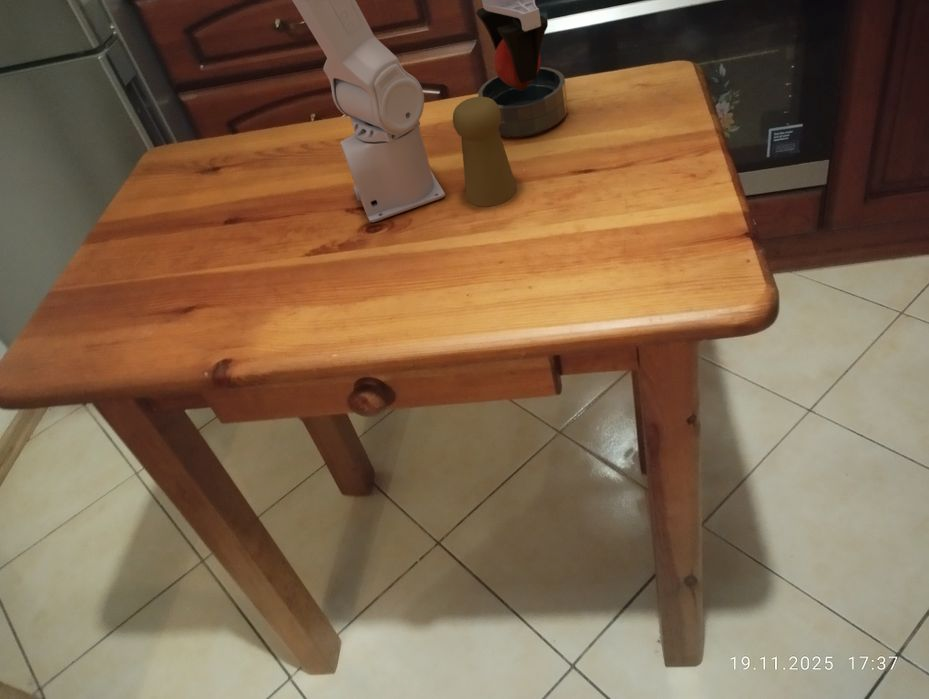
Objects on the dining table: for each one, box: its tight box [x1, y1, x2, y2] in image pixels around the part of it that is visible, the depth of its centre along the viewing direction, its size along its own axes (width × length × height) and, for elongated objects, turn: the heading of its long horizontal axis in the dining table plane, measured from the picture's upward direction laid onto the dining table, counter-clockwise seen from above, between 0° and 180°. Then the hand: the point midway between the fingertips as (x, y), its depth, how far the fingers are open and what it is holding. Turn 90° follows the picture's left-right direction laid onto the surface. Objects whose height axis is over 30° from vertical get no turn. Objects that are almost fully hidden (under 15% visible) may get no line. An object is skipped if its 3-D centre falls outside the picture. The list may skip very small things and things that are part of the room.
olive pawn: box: [452, 96, 518, 208], centre depth 75 cm, size 6×6×11 cm
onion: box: [493, 39, 542, 91], centre depth 85 cm, size 6×6×8 cm
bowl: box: [477, 66, 569, 138], centre depth 88 cm, size 11×11×4 cm
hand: (518, 71), depth 86 cm, fingers closed on onion, 6 cm apart
